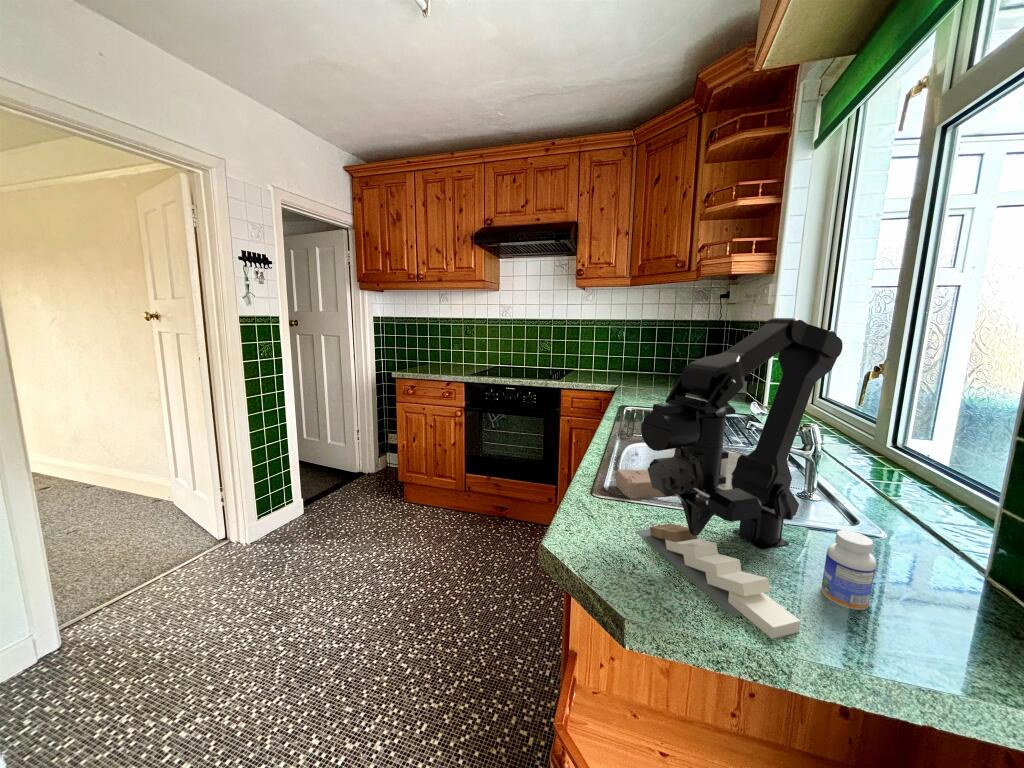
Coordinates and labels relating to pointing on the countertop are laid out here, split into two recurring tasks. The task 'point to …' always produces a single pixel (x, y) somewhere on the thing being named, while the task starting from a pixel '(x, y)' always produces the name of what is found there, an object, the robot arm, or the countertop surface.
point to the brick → (636, 484)
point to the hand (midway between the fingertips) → (694, 534)
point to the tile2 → (693, 547)
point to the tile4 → (740, 583)
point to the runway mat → (691, 573)
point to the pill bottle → (849, 570)
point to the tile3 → (714, 564)
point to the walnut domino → (672, 532)
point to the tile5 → (765, 614)
